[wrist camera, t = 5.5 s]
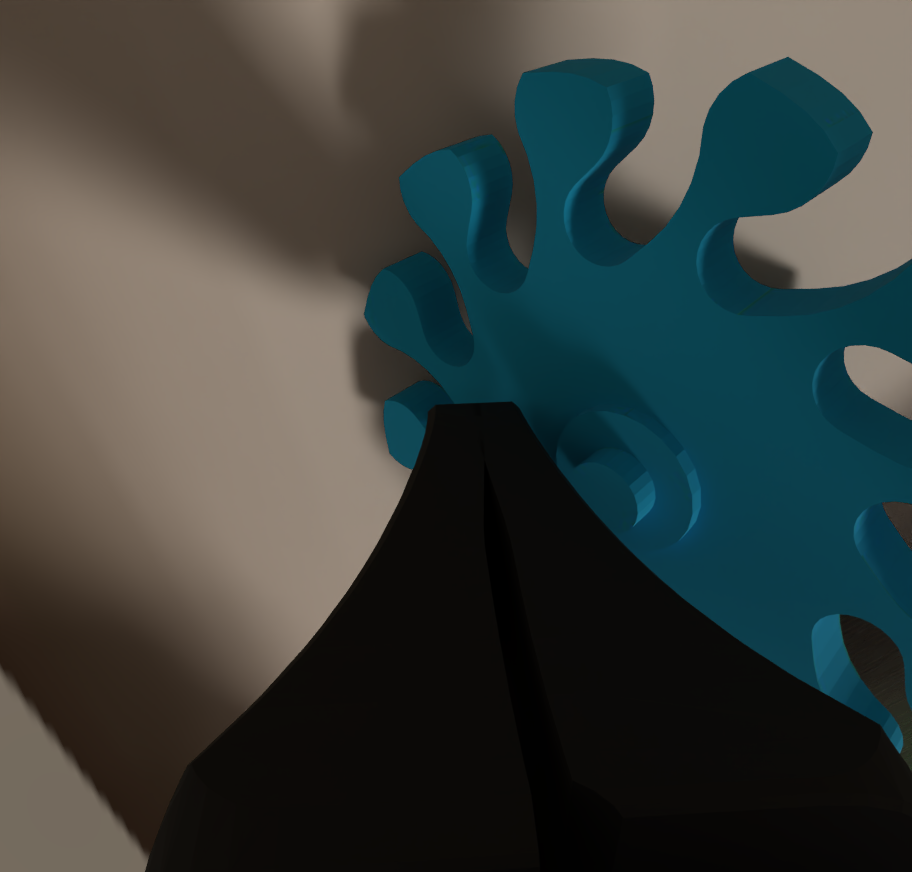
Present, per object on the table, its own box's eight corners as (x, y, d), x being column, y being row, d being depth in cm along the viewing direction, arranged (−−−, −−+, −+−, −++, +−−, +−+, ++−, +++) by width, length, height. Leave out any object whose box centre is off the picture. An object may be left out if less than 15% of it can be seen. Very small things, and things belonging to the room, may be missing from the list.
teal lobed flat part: (354, -71, 9) (1513, 430, 5) (646, -101, 12) (1462, 172, 8) (324, 552, 17) (762, 955, 12) (511, 424, 20) (901, 705, 16)
